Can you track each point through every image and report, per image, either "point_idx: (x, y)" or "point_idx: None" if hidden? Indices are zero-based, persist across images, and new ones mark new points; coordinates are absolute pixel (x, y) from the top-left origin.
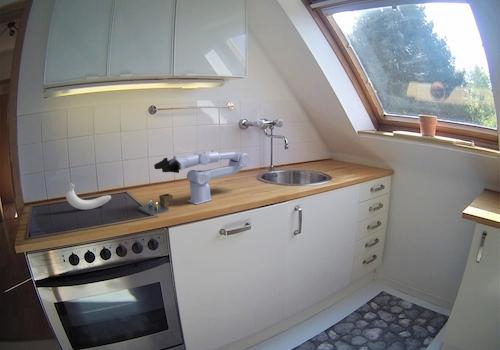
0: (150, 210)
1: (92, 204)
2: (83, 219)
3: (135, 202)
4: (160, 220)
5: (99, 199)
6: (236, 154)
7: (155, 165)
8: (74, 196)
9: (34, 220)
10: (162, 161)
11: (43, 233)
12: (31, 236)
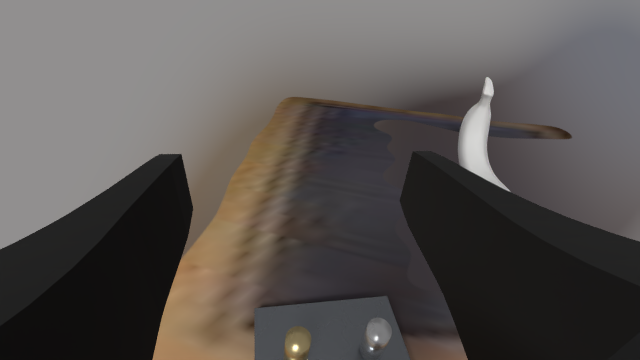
0: (294, 323)
1: None
2: (374, 164)
3: None
4: None
5: None
6: None
7: (414, 166)
8: (468, 123)
9: (423, 120)
10: (504, 218)
11: (325, 116)
12: (322, 106)
